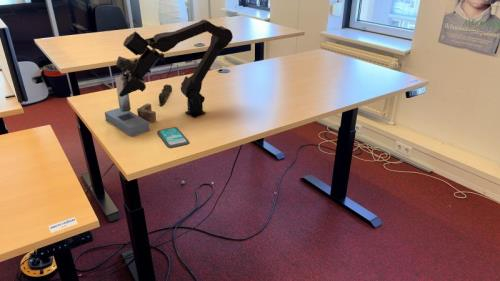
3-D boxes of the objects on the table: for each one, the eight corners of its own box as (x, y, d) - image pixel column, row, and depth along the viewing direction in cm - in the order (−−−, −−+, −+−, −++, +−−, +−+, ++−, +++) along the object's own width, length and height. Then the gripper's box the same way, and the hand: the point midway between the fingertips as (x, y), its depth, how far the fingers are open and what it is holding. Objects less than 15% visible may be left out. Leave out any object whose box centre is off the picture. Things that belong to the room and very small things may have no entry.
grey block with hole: (149, 130, 147) (149, 122, 145) (131, 136, 142) (130, 128, 140) (123, 114, 159) (122, 106, 158) (105, 120, 154) (104, 112, 152)
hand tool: (164, 91, 185) (163, 82, 183) (172, 92, 185) (171, 82, 182) (154, 107, 168) (153, 97, 166) (163, 107, 168) (162, 97, 166)
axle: (132, 109, 147) (128, 77, 141) (123, 112, 145) (118, 80, 139) (127, 106, 150) (122, 75, 144) (118, 109, 147) (113, 77, 141)
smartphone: (168, 147, 134) (155, 130, 146) (168, 149, 135) (155, 132, 146) (190, 142, 138) (176, 126, 149) (191, 144, 138) (177, 128, 150)
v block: (151, 111, 163) (150, 102, 161) (157, 121, 154) (156, 112, 152) (136, 113, 160) (135, 105, 158) (141, 124, 151) (140, 115, 149)
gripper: (123, 43, 145) (98, 74, 146) (132, 55, 131) (103, 90, 131) (146, 61, 152) (122, 90, 153) (157, 74, 137) (130, 107, 138)
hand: (119, 94), depth 144 cm, fingers closed on axle, 4 cm apart
